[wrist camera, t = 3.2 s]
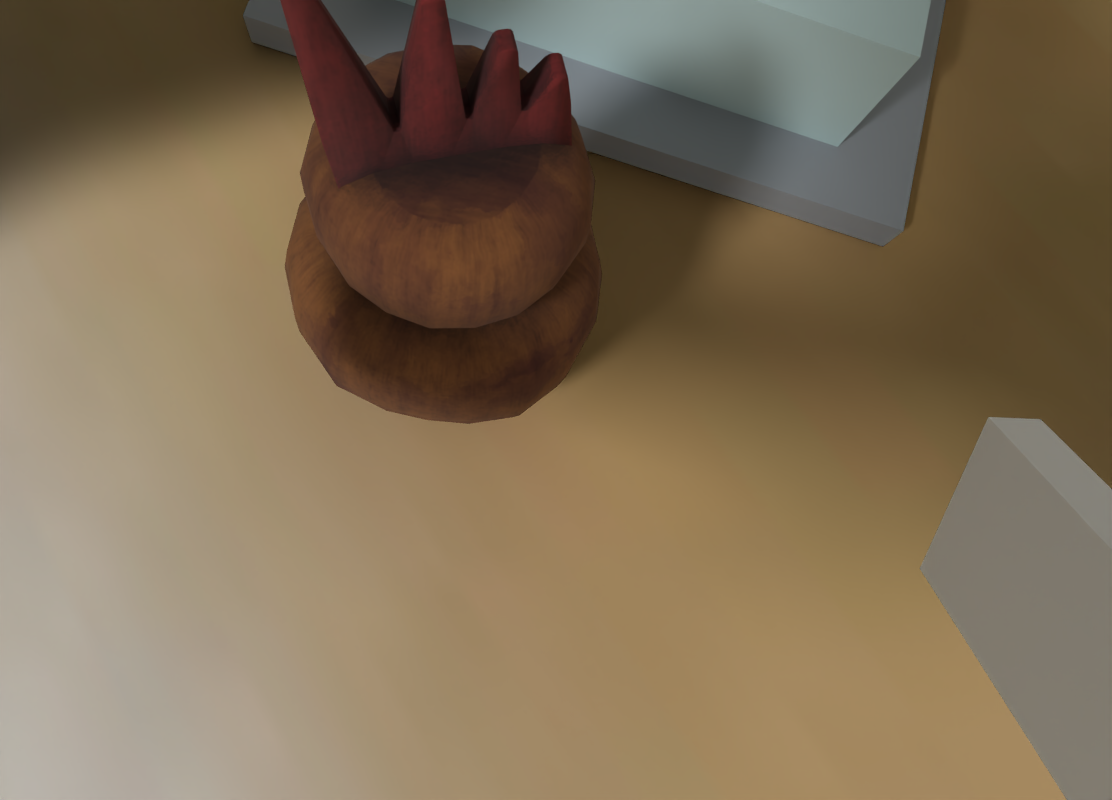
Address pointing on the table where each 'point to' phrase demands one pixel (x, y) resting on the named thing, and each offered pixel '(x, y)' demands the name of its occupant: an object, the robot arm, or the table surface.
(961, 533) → the robot arm
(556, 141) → the wooden figurine
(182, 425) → the table surface
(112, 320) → the table surface
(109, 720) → the table surface
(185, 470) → the table surface
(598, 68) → the collar stand
